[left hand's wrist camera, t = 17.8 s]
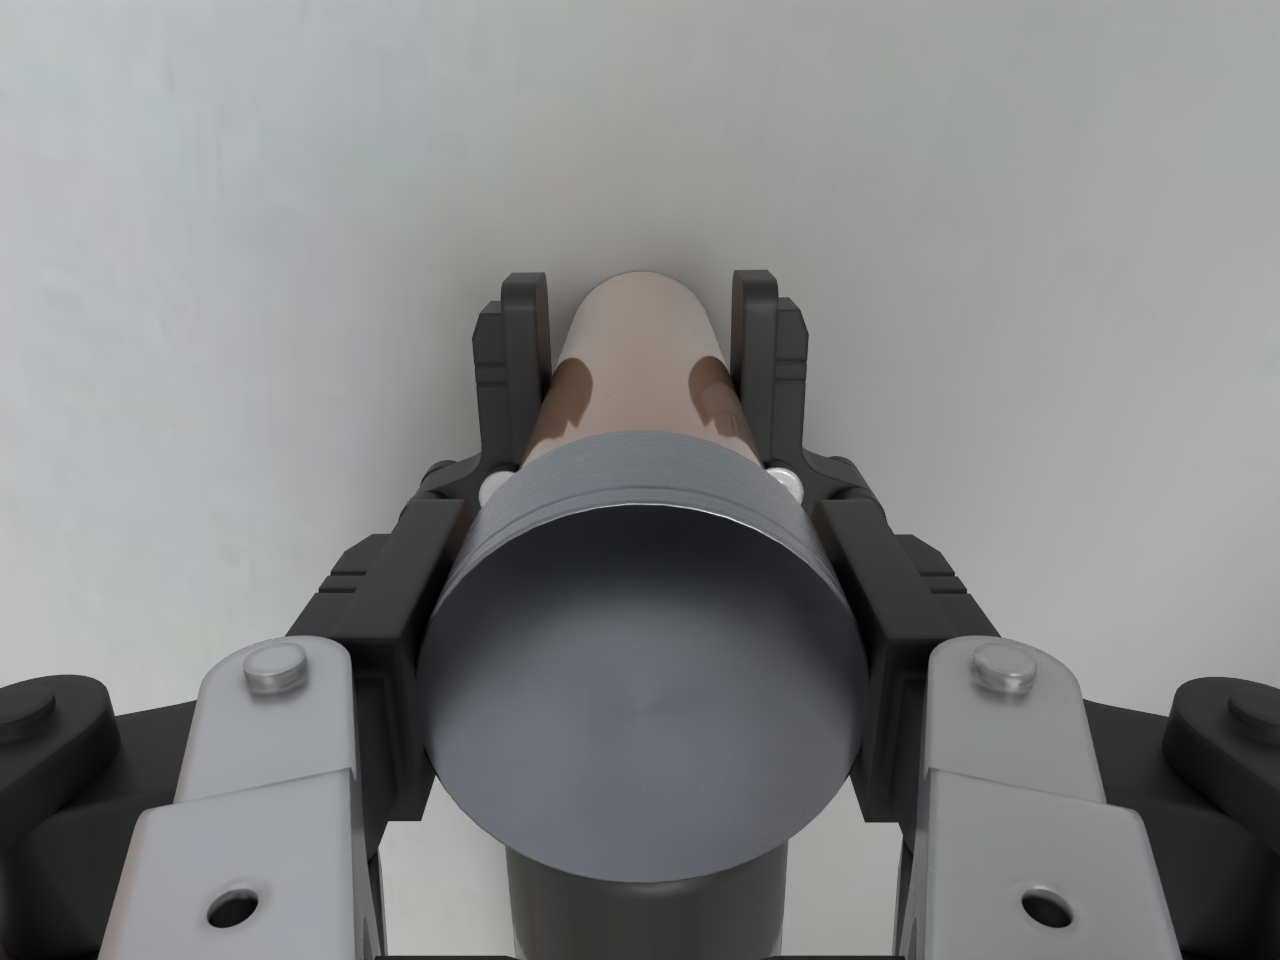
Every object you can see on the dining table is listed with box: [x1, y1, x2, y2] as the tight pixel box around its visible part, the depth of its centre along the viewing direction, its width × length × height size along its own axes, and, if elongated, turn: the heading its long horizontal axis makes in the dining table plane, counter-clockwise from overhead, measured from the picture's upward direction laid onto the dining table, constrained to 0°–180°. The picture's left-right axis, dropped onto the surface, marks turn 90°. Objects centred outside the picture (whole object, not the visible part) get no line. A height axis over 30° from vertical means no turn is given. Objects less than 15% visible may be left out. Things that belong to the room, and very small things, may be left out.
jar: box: [517, 271, 765, 472], centre depth 17 cm, size 4×4×16 cm
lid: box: [415, 430, 870, 883], centre depth 10 cm, size 5×5×2 cm
